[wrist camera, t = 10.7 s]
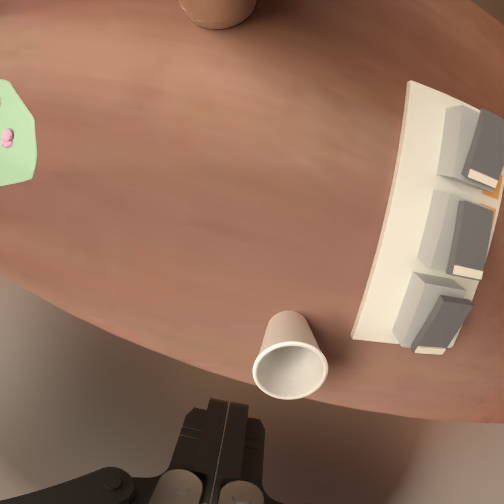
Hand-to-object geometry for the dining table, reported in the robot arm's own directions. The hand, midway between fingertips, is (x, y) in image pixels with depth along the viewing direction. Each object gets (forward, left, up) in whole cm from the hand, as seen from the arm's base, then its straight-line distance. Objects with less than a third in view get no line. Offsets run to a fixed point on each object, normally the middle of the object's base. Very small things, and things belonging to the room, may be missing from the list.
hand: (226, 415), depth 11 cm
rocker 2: (-17, +24, -22) cm, 36 cm away
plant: (-10, -47, -30) cm, 57 cm away
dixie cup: (+12, +6, -29) cm, 32 cm away
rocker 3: (-6, +24, -22) cm, 33 cm away
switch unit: (-6, +24, -29) cm, 38 cm away
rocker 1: (+5, +24, -22) cm, 33 cm away
